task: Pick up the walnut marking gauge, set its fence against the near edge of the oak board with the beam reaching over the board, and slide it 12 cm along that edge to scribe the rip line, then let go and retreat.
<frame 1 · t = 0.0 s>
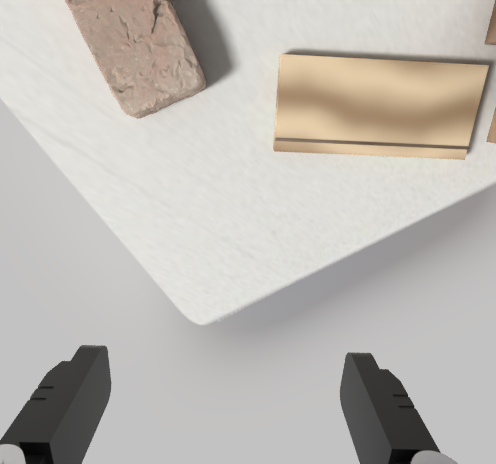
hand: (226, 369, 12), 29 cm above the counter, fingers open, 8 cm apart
board: (372, 109, 37), on the counter
brick: (135, 19, 34), on the counter
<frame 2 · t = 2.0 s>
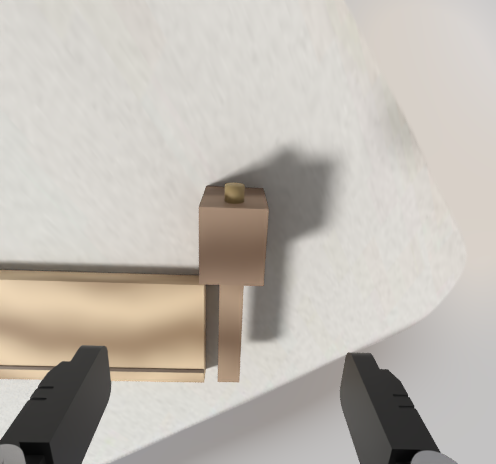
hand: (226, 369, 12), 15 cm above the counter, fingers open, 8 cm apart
gauge: (233, 220, 26), on the counter
board: (80, 322, 29), on the counter
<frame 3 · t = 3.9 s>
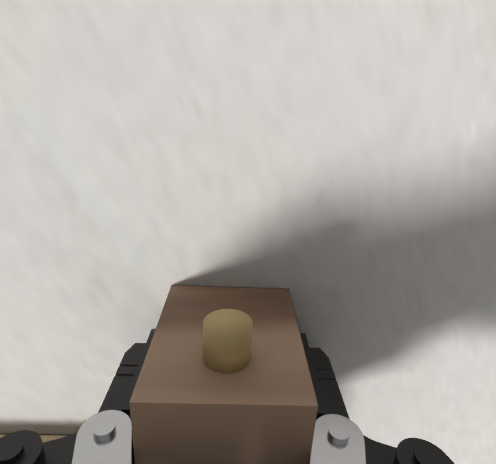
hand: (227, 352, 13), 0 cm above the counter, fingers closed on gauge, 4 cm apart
gauge: (228, 347, 13), on the counter, touching gripper
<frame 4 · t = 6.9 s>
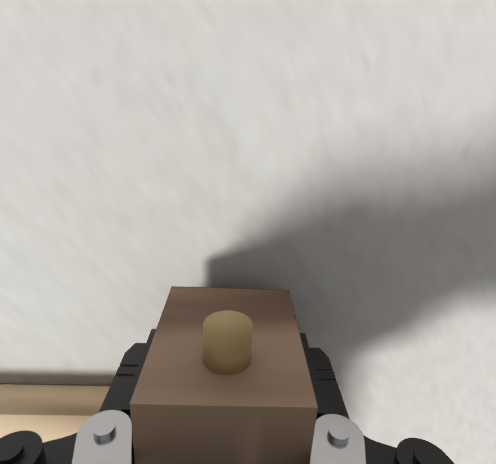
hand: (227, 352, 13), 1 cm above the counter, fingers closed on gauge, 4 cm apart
gauge: (228, 348, 13), point 1 cm above the counter, touching gripper
board: (72, 461, 17), on the counter
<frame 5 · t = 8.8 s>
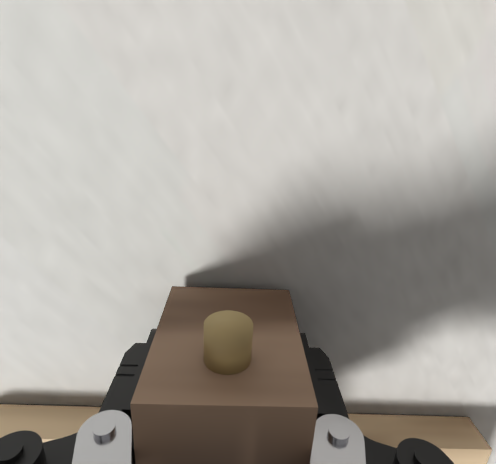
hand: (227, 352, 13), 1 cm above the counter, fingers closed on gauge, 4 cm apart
gauge: (228, 348, 13), on the counter, touching gripper
when the fingers open (1 cm above the counter, at t = 10.3 s): gauge stays where it is, on the counter.
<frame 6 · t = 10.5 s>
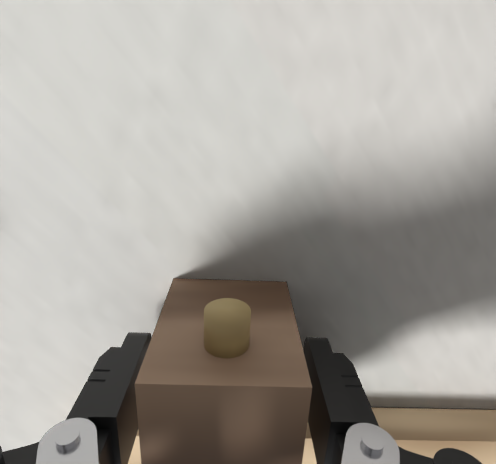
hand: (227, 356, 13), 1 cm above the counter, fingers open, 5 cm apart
gauge: (228, 338, 14), on the counter
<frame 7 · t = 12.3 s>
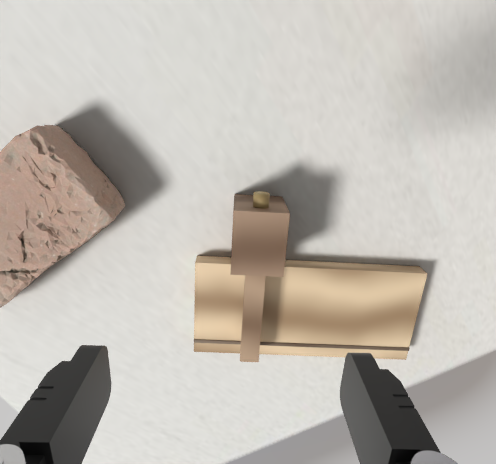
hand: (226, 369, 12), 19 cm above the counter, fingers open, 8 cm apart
gauge: (256, 223, 31), on the counter
board: (304, 305, 34), on the counter
brick: (30, 220, 31), on the counter
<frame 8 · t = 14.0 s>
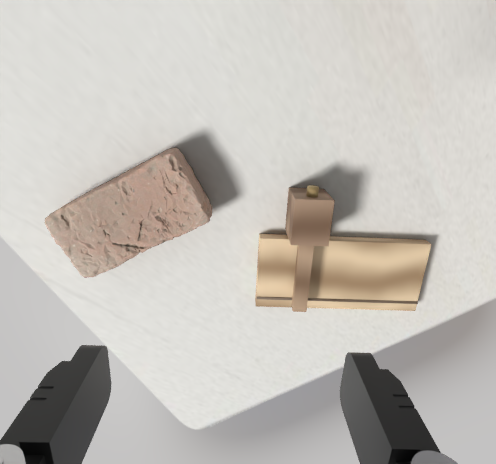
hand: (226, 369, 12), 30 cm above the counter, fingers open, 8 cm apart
gauge: (304, 209, 42), on the counter
board: (337, 270, 45), on the counter
brick: (136, 208, 42), on the counter
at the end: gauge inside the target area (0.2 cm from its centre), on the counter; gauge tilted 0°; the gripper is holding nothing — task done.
